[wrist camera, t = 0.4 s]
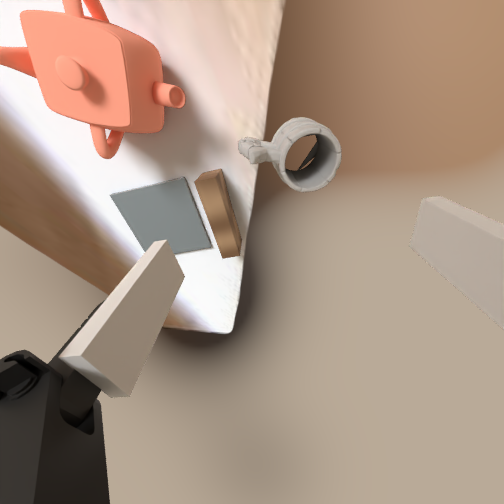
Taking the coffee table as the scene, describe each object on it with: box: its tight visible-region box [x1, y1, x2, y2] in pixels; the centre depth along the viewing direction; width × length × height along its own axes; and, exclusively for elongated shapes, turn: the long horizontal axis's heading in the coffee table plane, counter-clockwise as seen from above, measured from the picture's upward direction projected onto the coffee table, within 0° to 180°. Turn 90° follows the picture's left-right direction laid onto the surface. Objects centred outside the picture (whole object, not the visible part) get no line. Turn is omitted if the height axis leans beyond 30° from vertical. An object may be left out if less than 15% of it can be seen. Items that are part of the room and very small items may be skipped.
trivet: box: [110, 177, 211, 254], centre depth 36 cm, size 13×13×1 cm
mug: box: [238, 117, 342, 192], centre depth 24 cm, size 8×12×12 cm, turn 82°
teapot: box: [0, 0, 186, 159], centre depth 22 cm, size 14×12×10 cm
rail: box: [194, 169, 242, 258], centre depth 33 cm, size 13×3×5 cm, turn 12°
